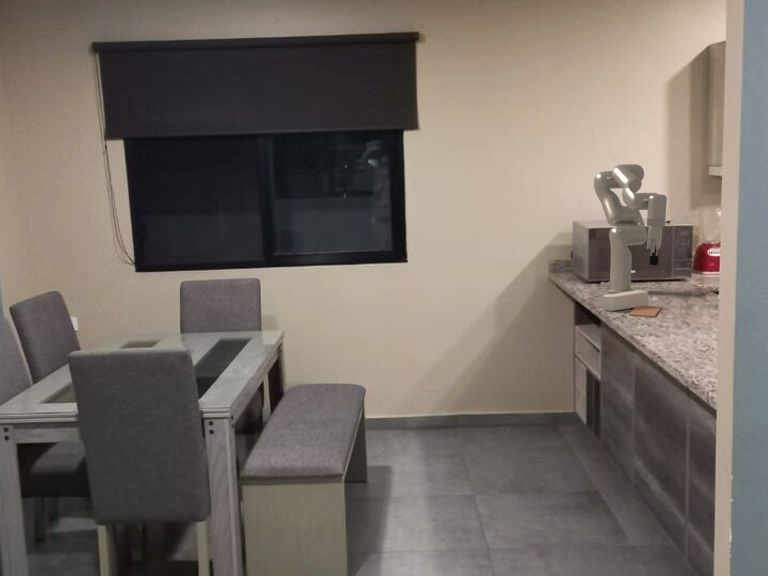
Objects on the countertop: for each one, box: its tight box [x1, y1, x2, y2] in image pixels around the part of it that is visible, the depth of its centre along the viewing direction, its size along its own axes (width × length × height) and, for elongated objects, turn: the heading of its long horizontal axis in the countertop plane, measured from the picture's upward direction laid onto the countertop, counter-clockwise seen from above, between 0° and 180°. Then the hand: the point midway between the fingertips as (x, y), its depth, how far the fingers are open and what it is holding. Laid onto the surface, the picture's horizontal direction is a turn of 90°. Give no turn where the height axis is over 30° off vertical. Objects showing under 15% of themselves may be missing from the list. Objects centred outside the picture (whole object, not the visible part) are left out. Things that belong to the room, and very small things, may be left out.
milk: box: [601, 289, 649, 312], centre depth 322 cm, size 6×6×22 cm
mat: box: [628, 305, 662, 318], centre depth 314 cm, size 10×20×1 cm, turn 153°
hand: (653, 264), depth 332 cm, fingers closed
